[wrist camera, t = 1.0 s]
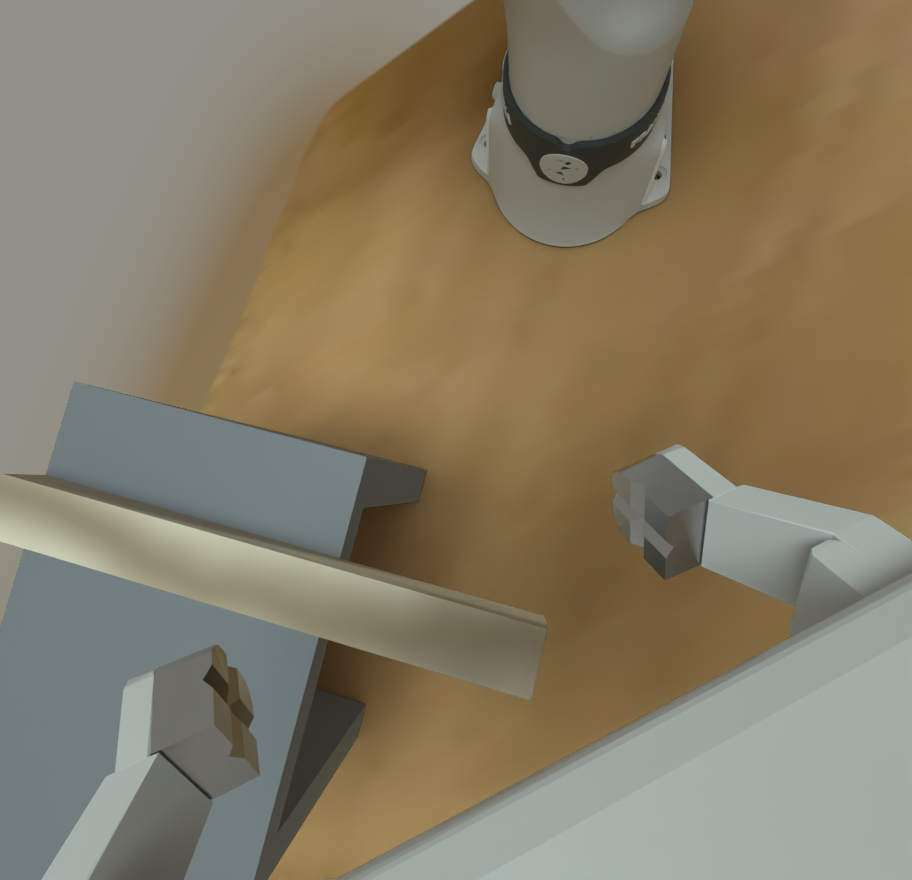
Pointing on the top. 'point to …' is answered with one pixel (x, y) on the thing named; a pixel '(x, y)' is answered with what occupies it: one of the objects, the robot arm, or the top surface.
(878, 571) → the robot arm
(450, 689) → the top surface
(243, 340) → the top surface
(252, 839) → the grey step stool
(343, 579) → the bar
